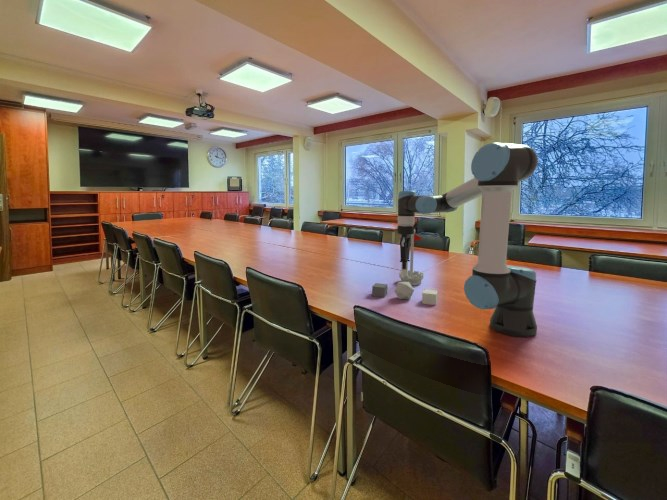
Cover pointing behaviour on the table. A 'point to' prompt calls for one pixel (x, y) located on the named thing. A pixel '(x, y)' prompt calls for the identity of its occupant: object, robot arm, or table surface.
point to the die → (404, 290)
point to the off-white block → (429, 297)
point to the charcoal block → (379, 290)
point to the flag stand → (412, 277)
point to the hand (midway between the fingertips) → (404, 275)
